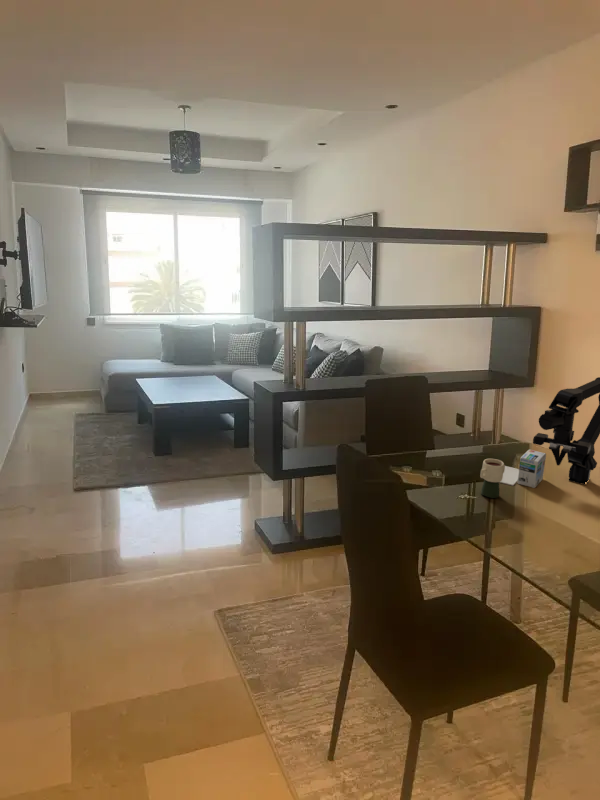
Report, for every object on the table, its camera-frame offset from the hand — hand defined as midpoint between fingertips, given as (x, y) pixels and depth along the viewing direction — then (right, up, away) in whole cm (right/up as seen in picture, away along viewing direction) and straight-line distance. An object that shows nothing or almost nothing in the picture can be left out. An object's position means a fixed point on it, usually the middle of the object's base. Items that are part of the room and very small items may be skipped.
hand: (558, 465), depth 220 cm
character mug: (-26, -11, -4) cm, 29 cm away
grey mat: (-16, -5, +13) cm, 21 cm away
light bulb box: (-7, -7, +8) cm, 13 cm away
